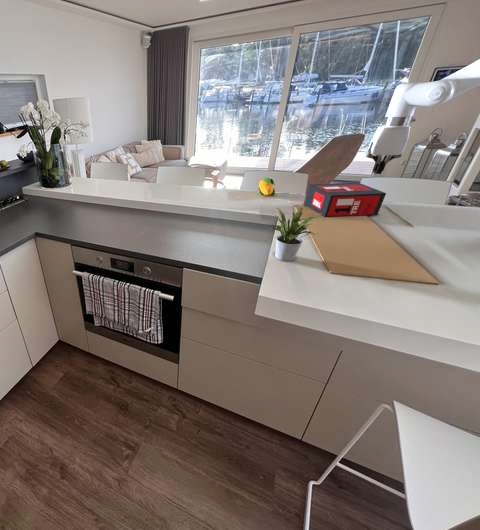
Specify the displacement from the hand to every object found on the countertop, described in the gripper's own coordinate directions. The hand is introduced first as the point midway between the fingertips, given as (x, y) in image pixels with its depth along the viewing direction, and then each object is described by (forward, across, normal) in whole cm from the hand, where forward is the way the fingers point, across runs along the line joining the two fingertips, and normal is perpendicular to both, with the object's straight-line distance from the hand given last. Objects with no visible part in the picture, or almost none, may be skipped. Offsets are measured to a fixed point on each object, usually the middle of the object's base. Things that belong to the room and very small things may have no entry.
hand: (376, 173), depth 114 cm
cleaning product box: (+10, 0, +1) cm, 10 cm away
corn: (+15, +36, -16) cm, 42 cm away
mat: (+15, +14, +31) cm, 37 cm away
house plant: (+15, +36, +54) cm, 67 cm away
